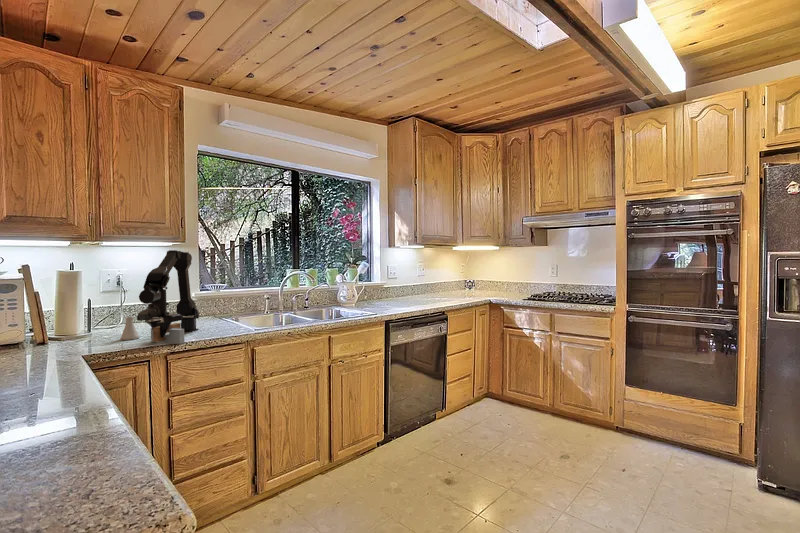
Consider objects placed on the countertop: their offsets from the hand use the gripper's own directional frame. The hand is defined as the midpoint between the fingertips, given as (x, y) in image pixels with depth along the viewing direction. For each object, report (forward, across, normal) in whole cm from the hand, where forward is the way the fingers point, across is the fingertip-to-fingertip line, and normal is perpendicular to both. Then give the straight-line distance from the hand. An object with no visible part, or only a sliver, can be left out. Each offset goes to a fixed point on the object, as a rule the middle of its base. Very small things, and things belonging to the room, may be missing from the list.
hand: (159, 337), depth 177 cm
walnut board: (+2, 0, +4) cm, 4 cm away
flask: (+3, -23, +5) cm, 24 cm away
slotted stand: (+3, 0, +4) cm, 5 cm away
